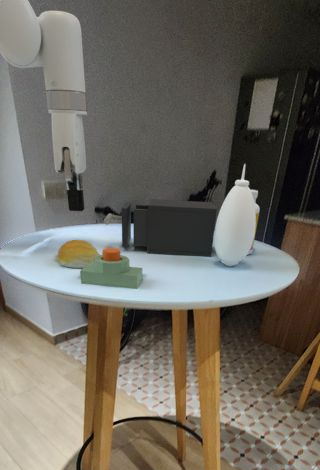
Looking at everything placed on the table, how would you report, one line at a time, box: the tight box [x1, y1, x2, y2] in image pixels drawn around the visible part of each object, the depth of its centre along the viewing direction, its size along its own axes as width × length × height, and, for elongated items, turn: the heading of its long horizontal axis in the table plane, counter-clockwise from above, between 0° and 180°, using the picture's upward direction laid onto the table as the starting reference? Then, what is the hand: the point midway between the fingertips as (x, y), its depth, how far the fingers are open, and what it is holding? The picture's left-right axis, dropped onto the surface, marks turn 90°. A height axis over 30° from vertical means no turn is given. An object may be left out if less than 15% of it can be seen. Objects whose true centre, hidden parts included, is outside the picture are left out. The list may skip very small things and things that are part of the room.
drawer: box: [103, 202, 148, 248], centre depth 84 cm, size 18×9×8 cm, turn 89°
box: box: [79, 254, 144, 289], centre depth 64 cm, size 10×6×4 cm, turn 82°
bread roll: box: [56, 239, 100, 269], centre depth 73 cm, size 8×9×4 cm
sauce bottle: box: [213, 163, 256, 267], centre depth 72 cm, size 8×8×18 cm
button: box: [102, 247, 121, 261], centre depth 63 cm, size 3×3×2 cm
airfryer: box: [146, 198, 218, 258], centre depth 84 cm, size 15×10×10 cm
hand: (76, 210), depth 82 cm, fingers closed
